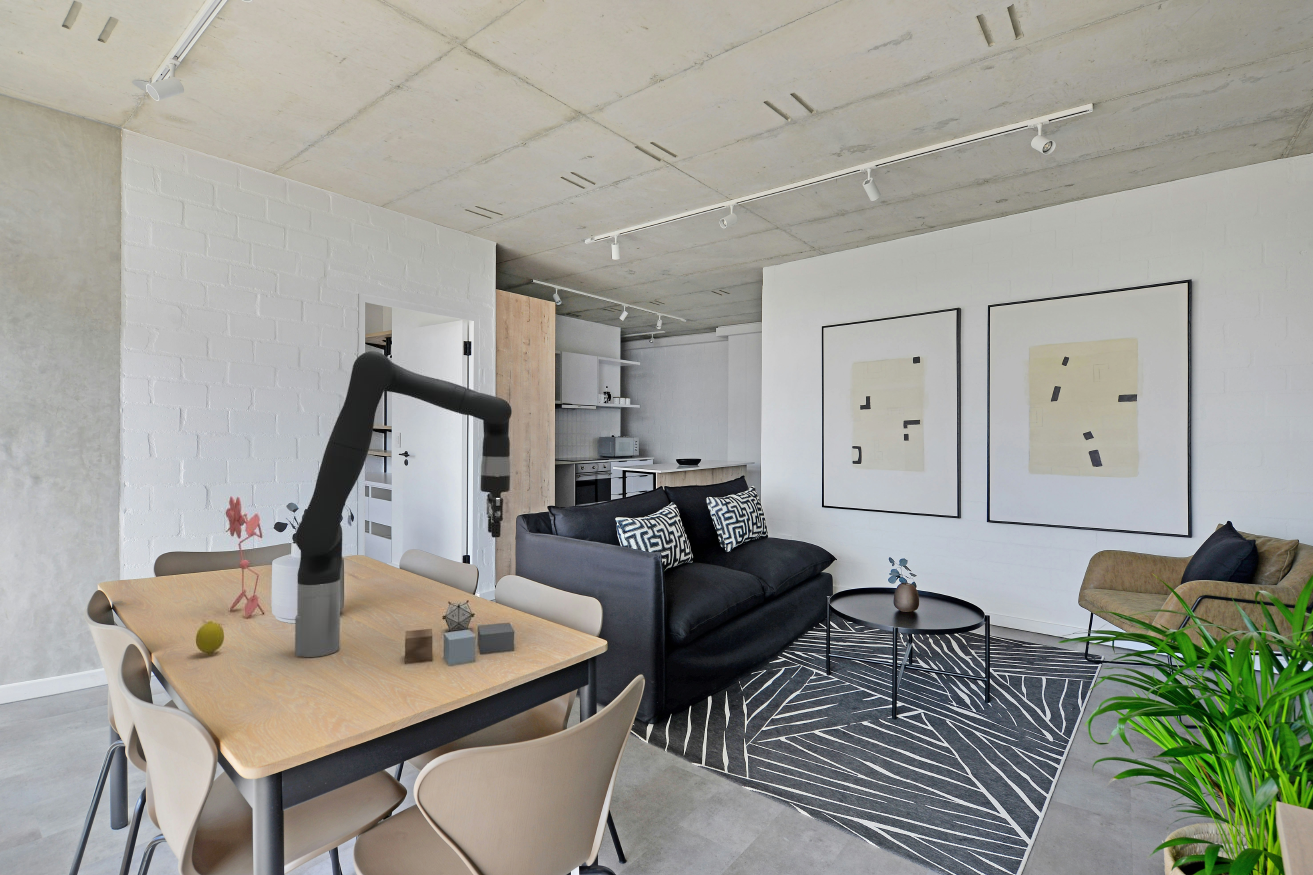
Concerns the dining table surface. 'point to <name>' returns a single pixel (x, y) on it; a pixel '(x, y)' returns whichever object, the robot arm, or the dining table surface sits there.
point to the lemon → (210, 637)
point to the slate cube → (459, 647)
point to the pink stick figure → (235, 526)
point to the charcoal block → (495, 638)
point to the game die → (458, 616)
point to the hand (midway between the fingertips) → (493, 534)
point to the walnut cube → (418, 646)
